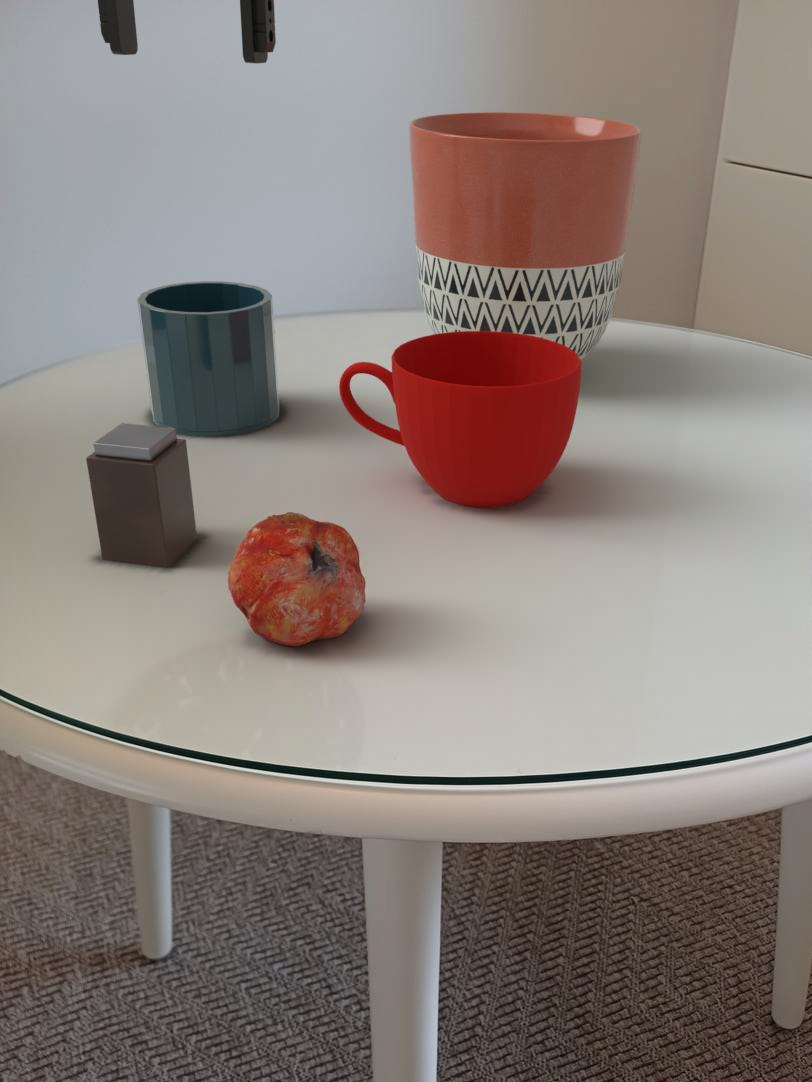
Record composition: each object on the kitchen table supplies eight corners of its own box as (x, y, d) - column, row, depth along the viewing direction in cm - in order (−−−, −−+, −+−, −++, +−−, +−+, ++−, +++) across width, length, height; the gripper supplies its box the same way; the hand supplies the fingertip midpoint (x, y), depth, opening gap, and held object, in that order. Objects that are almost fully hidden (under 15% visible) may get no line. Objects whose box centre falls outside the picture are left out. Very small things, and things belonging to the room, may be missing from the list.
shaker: (102, 566, 70) (83, 444, 66) (135, 536, 74) (118, 419, 70) (168, 574, 69) (152, 452, 65) (198, 544, 73) (185, 426, 69)
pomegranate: (220, 663, 65) (252, 637, 56) (208, 539, 66) (237, 494, 57) (344, 653, 68) (394, 627, 59) (331, 534, 69) (378, 490, 59)
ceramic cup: (366, 448, 88) (363, 320, 83) (580, 468, 86) (590, 338, 81) (317, 515, 77) (309, 373, 72) (561, 540, 75) (571, 394, 70)
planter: (470, 334, 117) (474, 107, 106) (648, 364, 109) (673, 123, 98) (371, 386, 101) (365, 127, 91) (570, 424, 94) (589, 147, 83)
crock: (143, 441, 88) (126, 313, 83) (164, 398, 97) (150, 280, 92) (274, 441, 89) (265, 314, 84) (284, 399, 98) (276, 281, 93)
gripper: (3, -299, 58) (49, 54, 66) (262, -298, 56) (278, 67, 64) (79, -268, 65) (112, 51, 73) (314, -266, 62) (322, 63, 70)
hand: (190, 58), depth 68 cm, fingers open, 8 cm apart
